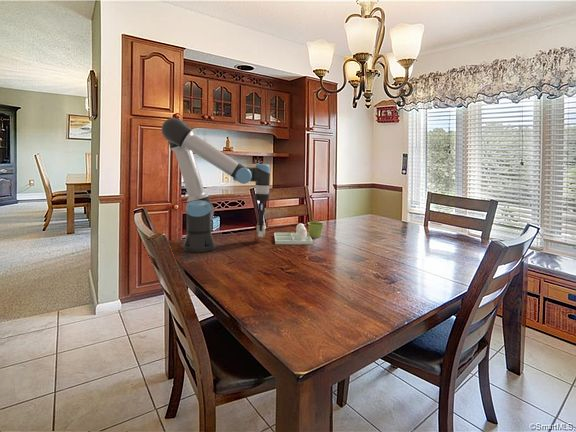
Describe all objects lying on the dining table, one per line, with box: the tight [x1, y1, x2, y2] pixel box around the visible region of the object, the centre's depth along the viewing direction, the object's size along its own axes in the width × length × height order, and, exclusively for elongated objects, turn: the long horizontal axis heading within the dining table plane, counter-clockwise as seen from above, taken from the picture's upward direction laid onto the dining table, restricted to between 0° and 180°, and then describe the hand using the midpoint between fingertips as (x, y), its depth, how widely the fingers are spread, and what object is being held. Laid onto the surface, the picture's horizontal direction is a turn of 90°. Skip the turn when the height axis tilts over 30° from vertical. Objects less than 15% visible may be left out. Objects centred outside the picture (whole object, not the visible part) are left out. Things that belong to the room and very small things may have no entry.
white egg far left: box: [295, 223, 305, 236], centre depth 195 cm, size 5×5×8 cm
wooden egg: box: [256, 221, 266, 238], centre depth 187 cm, size 5×5×8 cm
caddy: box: [273, 232, 314, 245], centre depth 191 cm, size 20×20×3 cm
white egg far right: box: [298, 226, 308, 241], centre depth 186 cm, size 5×5×8 cm
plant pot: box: [307, 221, 325, 239], centre depth 199 cm, size 9×9×9 cm
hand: (260, 235), depth 188 cm, fingers closed on wooden egg, 4 cm apart
